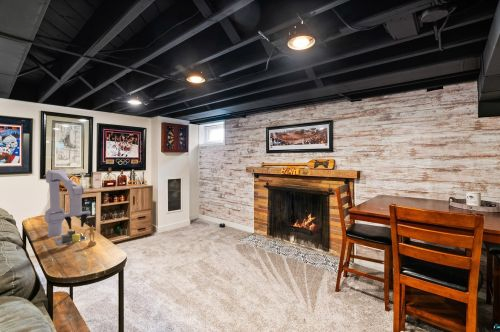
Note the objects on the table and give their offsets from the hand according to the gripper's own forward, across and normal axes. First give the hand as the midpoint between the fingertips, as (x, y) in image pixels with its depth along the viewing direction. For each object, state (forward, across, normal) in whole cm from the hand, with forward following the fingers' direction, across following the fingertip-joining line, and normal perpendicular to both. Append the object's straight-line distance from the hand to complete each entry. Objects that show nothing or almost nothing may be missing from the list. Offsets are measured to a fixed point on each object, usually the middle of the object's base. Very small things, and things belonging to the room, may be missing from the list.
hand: (76, 227), depth 147 cm
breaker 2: (+8, 0, +12) cm, 14 cm away
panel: (+9, -2, +6) cm, 12 cm away
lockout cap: (+8, 0, 0) cm, 8 cm away
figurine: (+10, +4, -14) cm, 17 cm away
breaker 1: (+8, -5, +4) cm, 10 cm away
